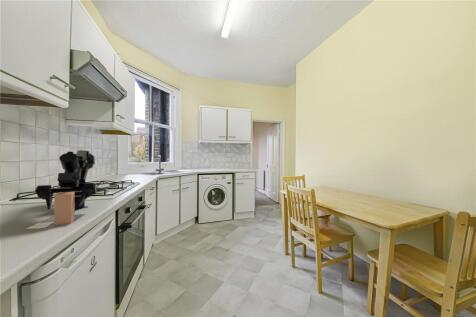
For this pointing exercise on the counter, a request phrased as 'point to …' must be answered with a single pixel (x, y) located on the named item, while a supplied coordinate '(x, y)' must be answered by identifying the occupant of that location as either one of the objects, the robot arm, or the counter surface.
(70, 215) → the column
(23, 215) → the counter surface
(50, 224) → the baseplate
